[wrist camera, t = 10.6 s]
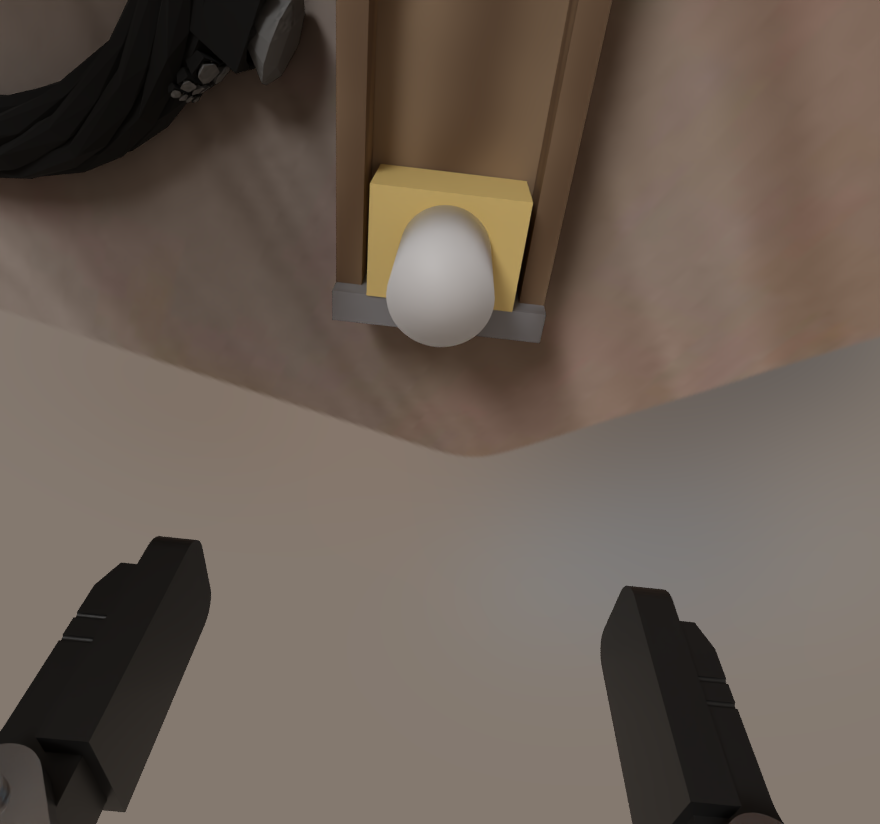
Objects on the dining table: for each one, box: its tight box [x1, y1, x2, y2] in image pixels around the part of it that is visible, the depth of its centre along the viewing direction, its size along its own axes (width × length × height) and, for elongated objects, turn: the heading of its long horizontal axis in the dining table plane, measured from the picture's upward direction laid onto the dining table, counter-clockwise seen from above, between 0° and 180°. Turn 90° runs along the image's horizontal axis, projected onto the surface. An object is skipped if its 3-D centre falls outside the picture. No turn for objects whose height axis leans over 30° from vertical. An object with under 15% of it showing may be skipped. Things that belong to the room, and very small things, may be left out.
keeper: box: [366, 164, 533, 347], centre depth 25 cm, size 7×5×8 cm
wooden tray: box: [332, 0, 612, 343], centre depth 24 cm, size 10×22×5 cm, turn 174°
